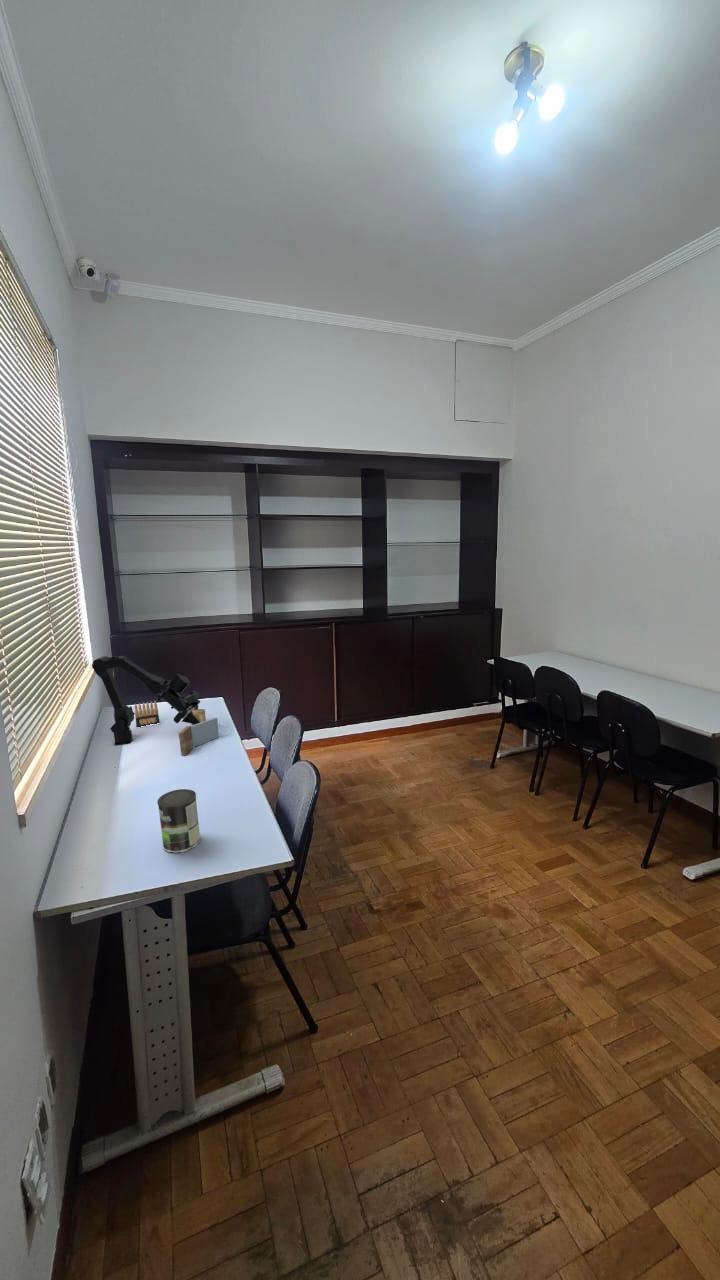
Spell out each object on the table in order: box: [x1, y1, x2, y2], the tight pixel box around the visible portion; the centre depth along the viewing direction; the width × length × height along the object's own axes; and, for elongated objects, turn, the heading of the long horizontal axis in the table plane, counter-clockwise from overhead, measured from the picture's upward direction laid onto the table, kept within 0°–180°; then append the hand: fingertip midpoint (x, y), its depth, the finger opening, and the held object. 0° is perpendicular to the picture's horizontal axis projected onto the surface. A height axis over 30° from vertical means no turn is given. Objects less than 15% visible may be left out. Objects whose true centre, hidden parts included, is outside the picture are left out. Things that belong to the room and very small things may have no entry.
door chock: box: [191, 708, 207, 726], centre depth 228 cm, size 5×4×12 cm
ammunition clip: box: [134, 700, 161, 728], centre depth 249 cm, size 11×2×12 cm, turn 113°
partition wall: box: [178, 725, 194, 757], centre depth 213 cm, size 2×8×10 cm, turn 177°
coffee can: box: [157, 788, 201, 854], centre depth 146 cm, size 10×10×14 cm
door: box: [190, 717, 220, 748], centre depth 223 cm, size 1×13×9 cm, turn 142°
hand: (201, 723), depth 228 cm, fingers closed on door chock, 4 cm apart
